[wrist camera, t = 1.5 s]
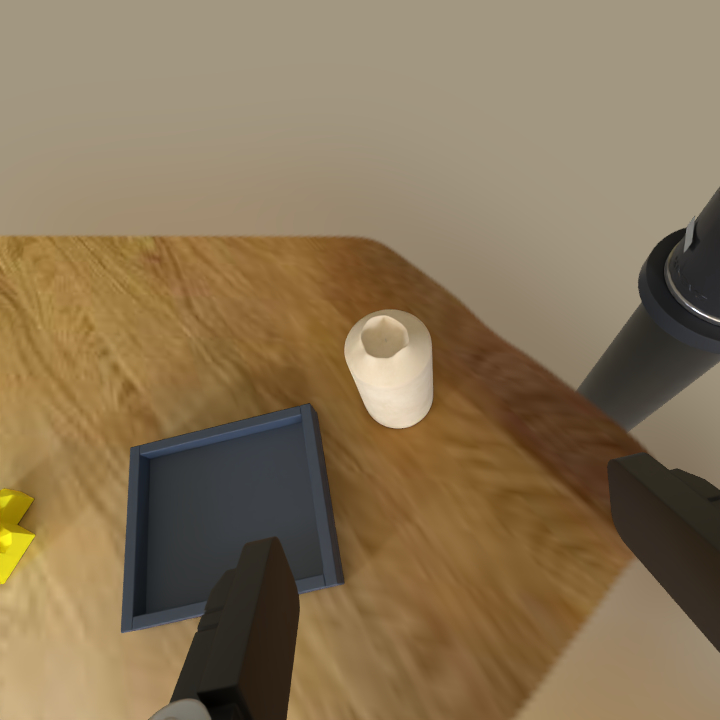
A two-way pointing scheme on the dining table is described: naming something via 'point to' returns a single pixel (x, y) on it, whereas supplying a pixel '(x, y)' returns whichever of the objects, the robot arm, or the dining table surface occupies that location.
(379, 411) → the candle
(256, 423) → the tray
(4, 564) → the crumpled paper
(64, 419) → the dining table surface
